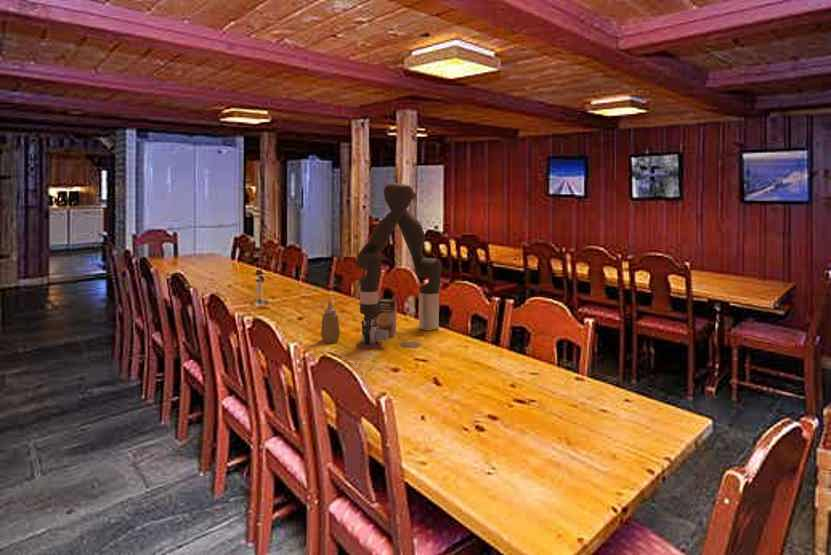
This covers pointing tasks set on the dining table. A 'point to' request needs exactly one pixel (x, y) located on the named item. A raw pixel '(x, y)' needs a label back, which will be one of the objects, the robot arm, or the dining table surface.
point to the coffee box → (387, 316)
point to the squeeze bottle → (330, 325)
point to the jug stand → (369, 346)
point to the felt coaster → (410, 344)
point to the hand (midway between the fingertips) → (369, 341)
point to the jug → (376, 336)
